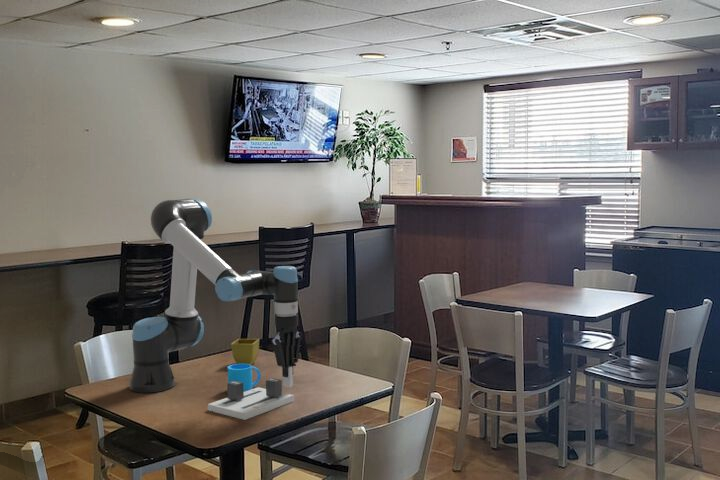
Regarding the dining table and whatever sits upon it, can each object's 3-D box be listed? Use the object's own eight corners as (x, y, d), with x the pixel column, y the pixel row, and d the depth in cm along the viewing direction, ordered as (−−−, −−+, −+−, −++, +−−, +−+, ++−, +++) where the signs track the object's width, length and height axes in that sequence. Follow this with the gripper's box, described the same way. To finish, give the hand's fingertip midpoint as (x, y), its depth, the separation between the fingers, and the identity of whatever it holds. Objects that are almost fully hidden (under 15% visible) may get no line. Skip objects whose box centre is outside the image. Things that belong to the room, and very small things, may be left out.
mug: (235, 395, 246) (234, 371, 245) (223, 390, 252) (223, 366, 251) (266, 388, 253) (266, 364, 252) (254, 383, 259) (254, 360, 259)
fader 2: (266, 395, 236) (265, 380, 236) (272, 393, 239) (272, 377, 238) (275, 397, 234) (275, 381, 233) (282, 395, 236) (281, 379, 236)
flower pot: (231, 366, 282) (230, 343, 282) (238, 361, 291) (238, 338, 290) (253, 367, 281) (252, 344, 280) (260, 361, 290) (259, 338, 289)
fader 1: (227, 398, 234) (227, 382, 233) (234, 396, 236) (234, 380, 236) (236, 400, 231) (236, 384, 231) (243, 398, 234) (243, 382, 233)
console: (208, 410, 230) (207, 403, 230) (258, 393, 248) (258, 386, 247) (244, 419, 220) (244, 412, 220) (294, 401, 238) (294, 394, 238)
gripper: (281, 318, 232) (283, 392, 234) (308, 312, 242) (310, 383, 244) (263, 316, 236) (265, 389, 239) (291, 310, 247) (293, 379, 249)
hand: (288, 386), depth 241 cm, fingers closed
